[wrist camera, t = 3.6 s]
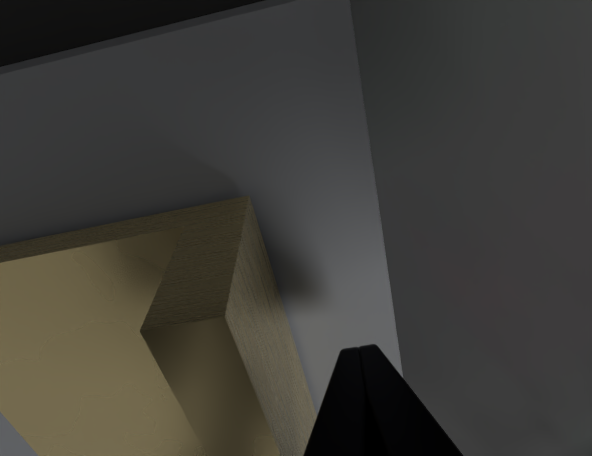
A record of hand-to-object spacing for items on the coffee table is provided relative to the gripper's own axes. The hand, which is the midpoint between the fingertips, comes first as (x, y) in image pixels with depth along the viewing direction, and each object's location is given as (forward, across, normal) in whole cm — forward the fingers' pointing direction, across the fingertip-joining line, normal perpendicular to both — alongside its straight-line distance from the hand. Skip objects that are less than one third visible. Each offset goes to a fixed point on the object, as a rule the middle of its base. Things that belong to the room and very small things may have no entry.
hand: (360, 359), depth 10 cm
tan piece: (+1, +5, 0) cm, 6 cm away
